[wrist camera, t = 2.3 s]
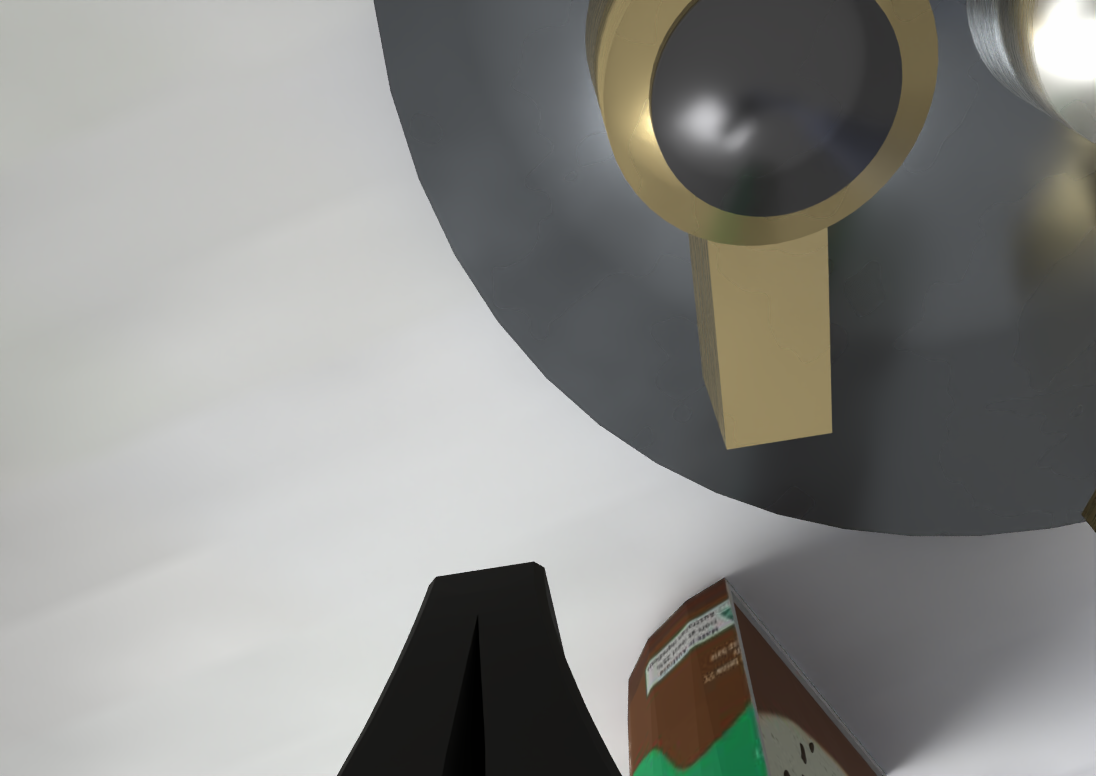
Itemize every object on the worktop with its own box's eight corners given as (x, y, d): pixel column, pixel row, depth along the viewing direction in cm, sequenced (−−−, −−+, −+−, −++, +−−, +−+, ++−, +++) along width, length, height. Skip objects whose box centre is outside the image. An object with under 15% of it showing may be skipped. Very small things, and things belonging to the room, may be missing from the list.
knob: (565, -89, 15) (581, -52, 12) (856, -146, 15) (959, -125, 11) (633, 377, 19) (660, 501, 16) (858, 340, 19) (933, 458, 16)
